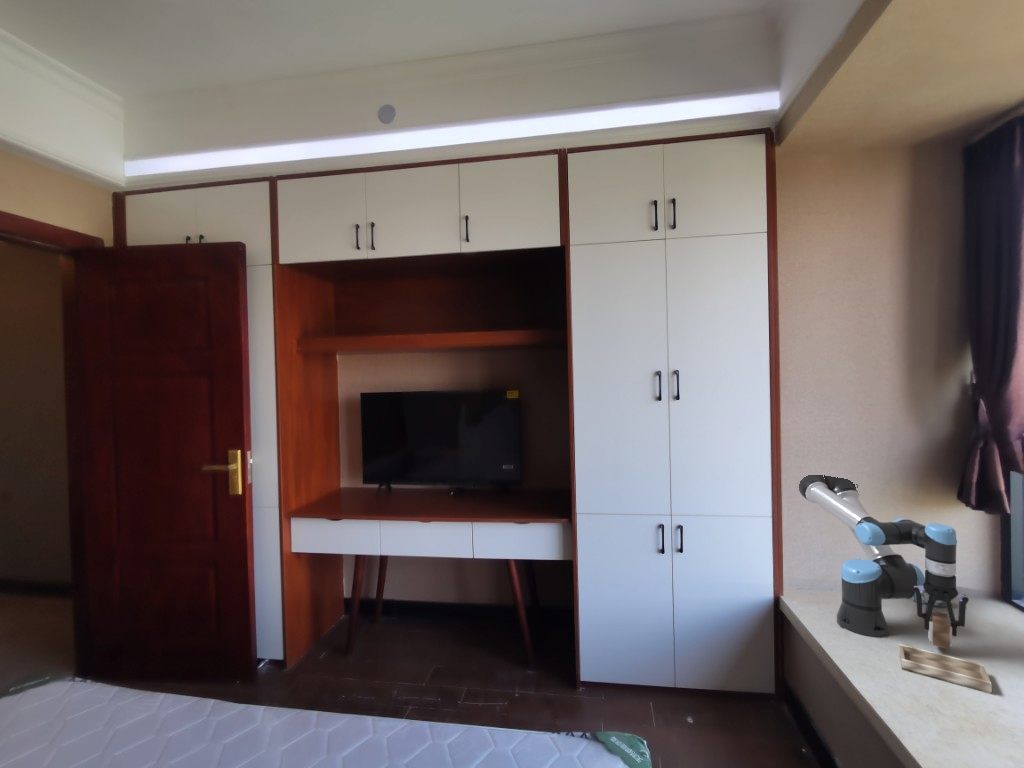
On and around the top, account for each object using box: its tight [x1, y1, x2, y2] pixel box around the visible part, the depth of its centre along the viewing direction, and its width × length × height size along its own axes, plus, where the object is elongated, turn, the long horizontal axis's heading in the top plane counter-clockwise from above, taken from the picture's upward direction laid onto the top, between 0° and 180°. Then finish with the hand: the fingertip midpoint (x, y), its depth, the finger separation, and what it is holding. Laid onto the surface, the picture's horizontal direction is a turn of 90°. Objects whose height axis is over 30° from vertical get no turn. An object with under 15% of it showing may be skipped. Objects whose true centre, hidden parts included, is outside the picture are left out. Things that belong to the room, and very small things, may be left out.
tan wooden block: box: [930, 610, 951, 650], centre depth 152 cm, size 4×6×9 cm, turn 143°
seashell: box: [913, 591, 947, 608], centre depth 182 cm, size 6×8×12 cm
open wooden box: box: [898, 643, 993, 694], centre depth 141 cm, size 20×11×3 cm, turn 53°
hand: (939, 641), depth 152 cm, fingers closed on tan wooden block, 4 cm apart
